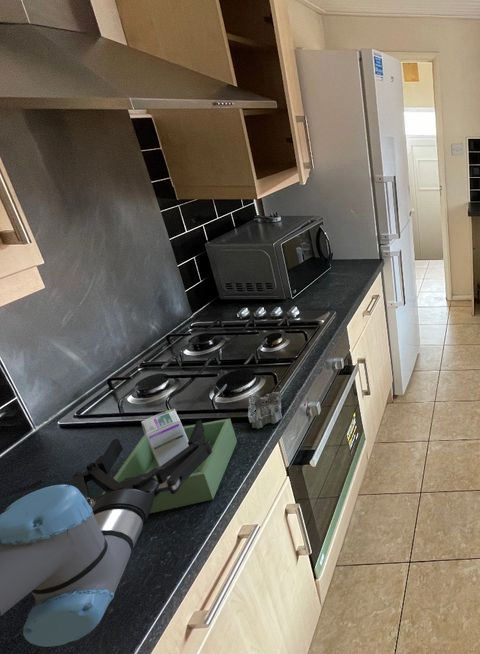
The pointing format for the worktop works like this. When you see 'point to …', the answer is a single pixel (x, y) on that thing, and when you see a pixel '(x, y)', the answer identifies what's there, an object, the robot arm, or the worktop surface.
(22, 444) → the worktop surface
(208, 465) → the storage tray
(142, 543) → the worktop surface
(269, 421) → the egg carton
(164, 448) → the syrup box
